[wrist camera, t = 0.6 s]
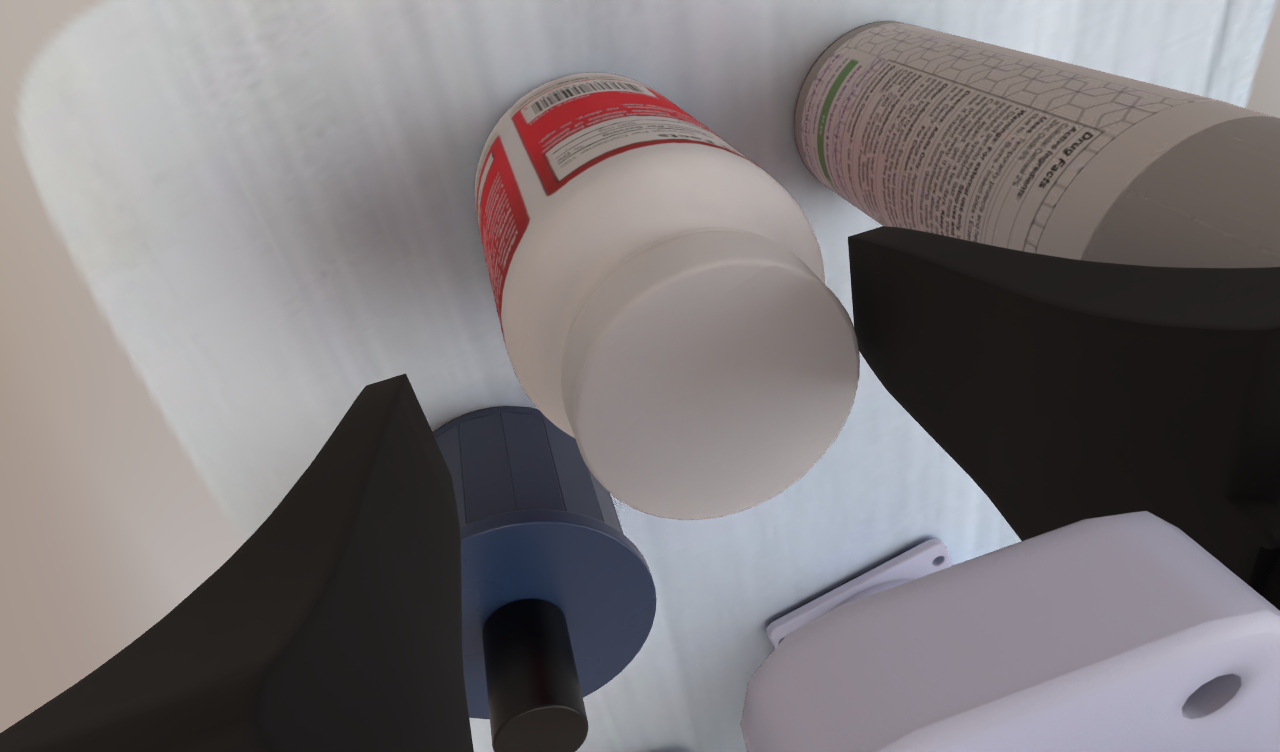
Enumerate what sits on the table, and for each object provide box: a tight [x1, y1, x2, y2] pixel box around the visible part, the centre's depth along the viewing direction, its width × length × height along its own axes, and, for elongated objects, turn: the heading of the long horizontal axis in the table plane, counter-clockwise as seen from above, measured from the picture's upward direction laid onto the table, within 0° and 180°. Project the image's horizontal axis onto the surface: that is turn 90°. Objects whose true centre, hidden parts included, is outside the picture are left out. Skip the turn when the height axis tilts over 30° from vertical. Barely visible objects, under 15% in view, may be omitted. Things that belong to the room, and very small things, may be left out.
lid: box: [460, 509, 656, 752], centre depth 20 cm, size 7×7×4 cm
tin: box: [433, 407, 624, 535], centre depth 24 cm, size 6×6×5 cm
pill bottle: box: [475, 73, 860, 520], centre depth 17 cm, size 6×6×11 cm
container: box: [795, 21, 1280, 268], centre depth 16 cm, size 5×5×15 cm
